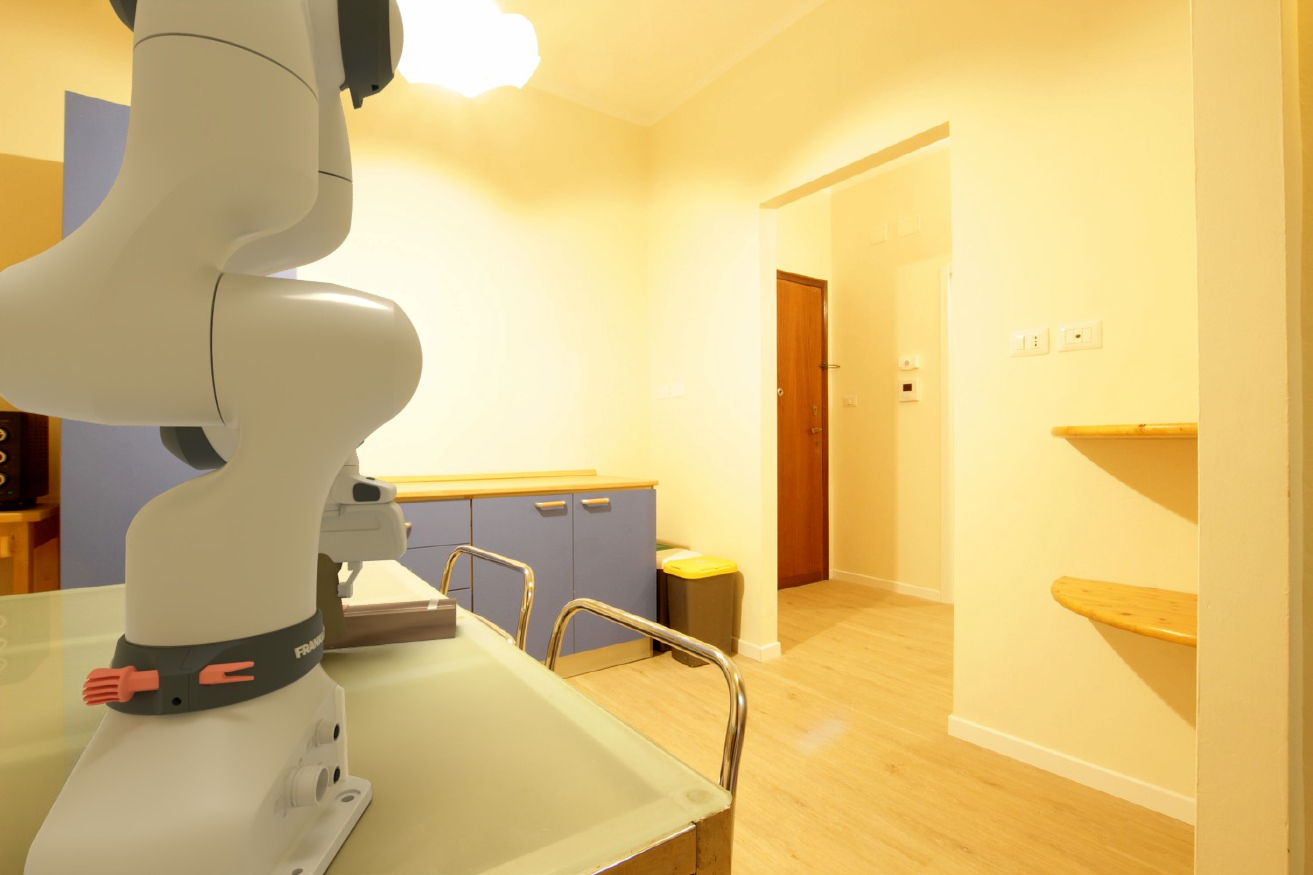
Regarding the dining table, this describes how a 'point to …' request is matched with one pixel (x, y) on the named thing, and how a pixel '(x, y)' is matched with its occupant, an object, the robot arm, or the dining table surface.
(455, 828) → the dining table surface
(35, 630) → the dining table surface
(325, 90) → the robot arm
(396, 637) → the walnut plank
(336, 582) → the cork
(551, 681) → the dining table surface
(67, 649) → the dining table surface
